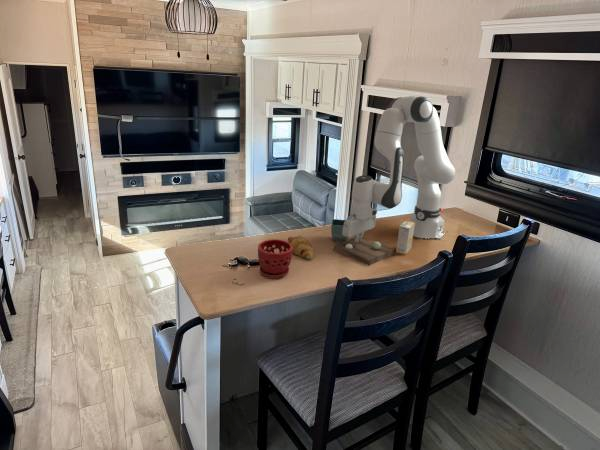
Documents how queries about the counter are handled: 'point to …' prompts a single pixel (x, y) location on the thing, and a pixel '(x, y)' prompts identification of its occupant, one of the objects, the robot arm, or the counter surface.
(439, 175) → the robot arm
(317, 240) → the counter surface
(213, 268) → the counter surface
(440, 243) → the counter surface
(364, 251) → the board
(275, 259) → the plant pot
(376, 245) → the sage ball
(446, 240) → the counter surface
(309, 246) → the croissant
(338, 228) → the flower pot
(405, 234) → the supplement box
